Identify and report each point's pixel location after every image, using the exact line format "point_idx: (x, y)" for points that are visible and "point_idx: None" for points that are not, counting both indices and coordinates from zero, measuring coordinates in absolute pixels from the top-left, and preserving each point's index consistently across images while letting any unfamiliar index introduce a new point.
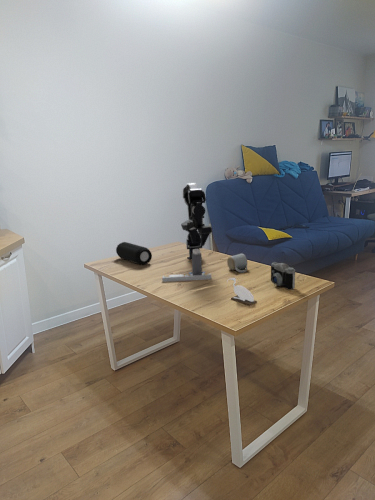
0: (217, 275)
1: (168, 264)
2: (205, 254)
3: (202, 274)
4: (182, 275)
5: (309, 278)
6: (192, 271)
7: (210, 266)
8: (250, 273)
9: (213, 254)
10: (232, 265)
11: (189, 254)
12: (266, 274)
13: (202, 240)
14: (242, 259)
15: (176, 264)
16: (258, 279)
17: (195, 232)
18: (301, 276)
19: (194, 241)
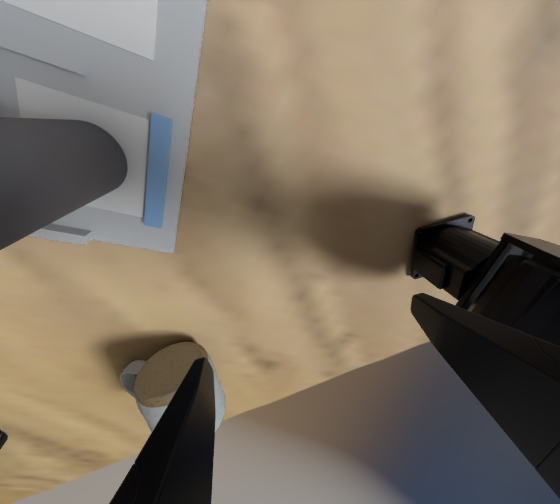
0: (105, 274)
1: (461, 53)
2: (449, 301)
3: (113, 200)
4: (117, 38)
5: (16, 494)
6: (58, 119)
7: (276, 280)
8: (109, 388)
9: None
10: (148, 368)
11: (471, 233)
12: (83, 424)
13: (142, 459)
14: (149, 427)
15: (421, 114)
16: (10, 399)
17: (550, 467)
18: (42, 483)
19: (420, 321)
